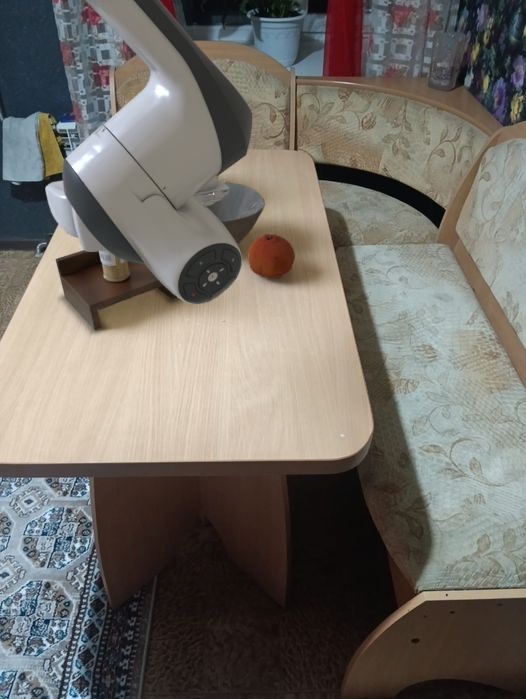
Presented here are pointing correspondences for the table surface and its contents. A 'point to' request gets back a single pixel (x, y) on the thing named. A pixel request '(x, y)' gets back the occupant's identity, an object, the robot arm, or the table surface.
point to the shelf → (101, 284)
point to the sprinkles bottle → (114, 267)
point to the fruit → (271, 256)
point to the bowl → (238, 210)
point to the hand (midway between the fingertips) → (117, 169)
